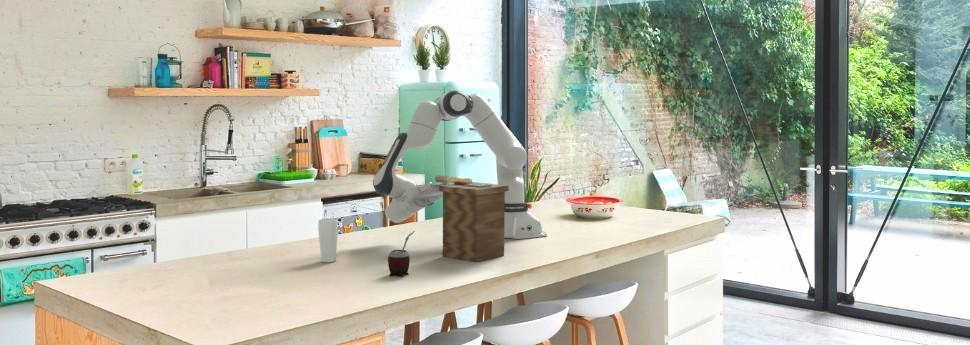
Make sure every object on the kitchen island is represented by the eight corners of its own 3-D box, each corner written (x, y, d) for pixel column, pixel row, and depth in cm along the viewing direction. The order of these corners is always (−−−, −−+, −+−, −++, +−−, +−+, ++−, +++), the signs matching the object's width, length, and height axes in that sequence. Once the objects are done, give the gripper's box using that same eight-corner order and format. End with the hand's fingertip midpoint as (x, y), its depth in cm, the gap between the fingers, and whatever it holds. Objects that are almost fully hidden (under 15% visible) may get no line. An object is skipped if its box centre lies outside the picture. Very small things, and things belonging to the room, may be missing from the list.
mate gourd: (385, 273, 289) (385, 228, 288) (408, 272, 292) (408, 227, 290) (391, 278, 282) (391, 232, 281) (415, 276, 285) (415, 231, 283)
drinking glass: (340, 259, 311) (340, 218, 310) (335, 263, 305) (334, 221, 303) (321, 259, 312) (321, 217, 311) (316, 263, 305) (315, 220, 304)
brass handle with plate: (431, 182, 327) (431, 175, 327) (442, 181, 332) (442, 174, 331) (481, 187, 312) (481, 180, 312) (491, 186, 316) (492, 179, 316)
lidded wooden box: (438, 256, 319) (438, 185, 317) (470, 249, 333) (470, 181, 330) (476, 262, 308) (477, 189, 305) (507, 255, 322) (508, 185, 319)
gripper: (394, 194, 330) (417, 177, 321) (430, 189, 345) (453, 173, 337) (400, 209, 328) (423, 193, 320) (436, 203, 344) (459, 188, 336)
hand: (439, 183), depth 329 cm, fingers open, 8 cm apart
